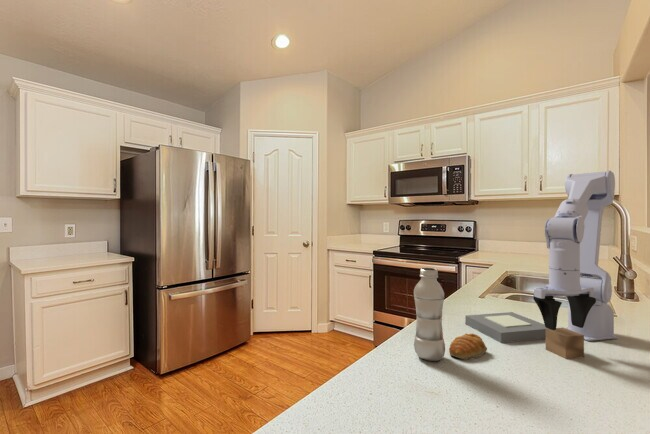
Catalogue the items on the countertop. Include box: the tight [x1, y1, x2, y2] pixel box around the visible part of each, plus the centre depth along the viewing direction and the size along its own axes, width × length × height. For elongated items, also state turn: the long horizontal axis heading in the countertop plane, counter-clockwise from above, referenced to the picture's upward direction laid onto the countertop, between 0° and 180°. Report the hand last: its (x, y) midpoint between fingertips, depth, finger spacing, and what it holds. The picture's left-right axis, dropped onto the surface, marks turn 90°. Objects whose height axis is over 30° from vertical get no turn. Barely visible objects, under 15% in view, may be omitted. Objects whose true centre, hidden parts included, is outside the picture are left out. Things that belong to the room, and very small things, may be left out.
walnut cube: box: [545, 327, 585, 360], centre depth 72 cm, size 5×5×5 cm
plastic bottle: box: [413, 267, 446, 362], centre depth 70 cm, size 6×7×20 cm
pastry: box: [448, 333, 488, 360], centre depth 72 cm, size 9×7×4 cm
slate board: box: [464, 311, 548, 344], centre depth 86 cm, size 16×14×3 cm
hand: (564, 327), depth 72 cm, fingers open, 7 cm apart
